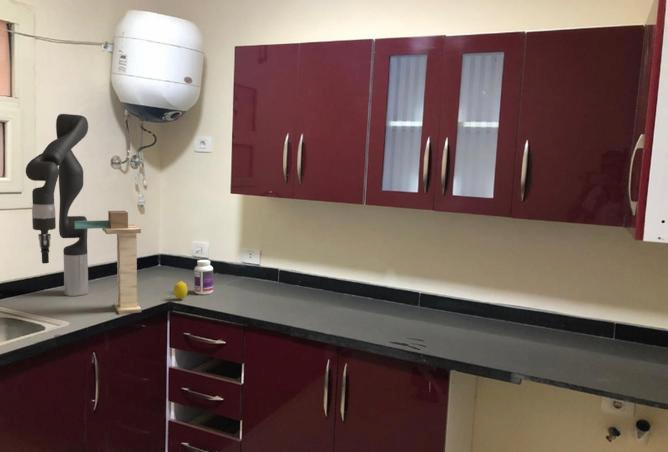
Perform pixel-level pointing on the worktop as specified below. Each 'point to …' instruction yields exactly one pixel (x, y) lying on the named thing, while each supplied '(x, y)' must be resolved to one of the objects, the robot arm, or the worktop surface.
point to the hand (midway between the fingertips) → (45, 263)
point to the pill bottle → (203, 277)
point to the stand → (126, 268)
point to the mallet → (106, 221)
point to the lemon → (180, 290)
